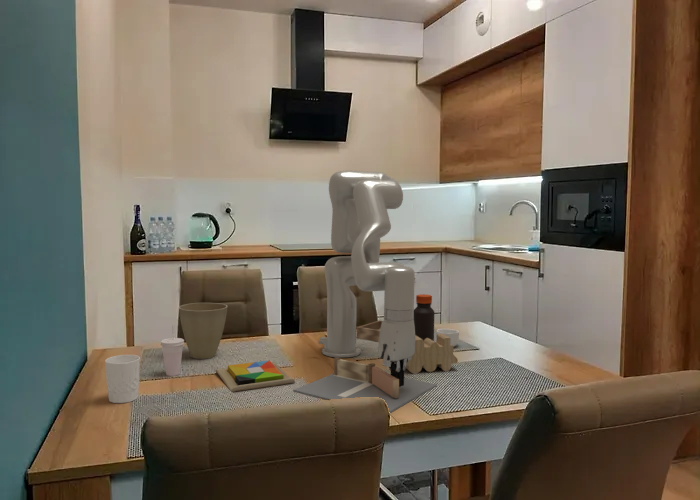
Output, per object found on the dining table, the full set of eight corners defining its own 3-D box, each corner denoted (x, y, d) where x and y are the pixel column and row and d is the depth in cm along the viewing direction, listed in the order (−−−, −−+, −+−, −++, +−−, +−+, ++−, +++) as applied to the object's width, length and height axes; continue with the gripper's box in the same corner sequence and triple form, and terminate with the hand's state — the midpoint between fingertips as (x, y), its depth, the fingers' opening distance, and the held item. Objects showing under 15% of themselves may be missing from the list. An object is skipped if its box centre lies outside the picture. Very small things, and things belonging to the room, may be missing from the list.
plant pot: (204, 365, 166) (203, 312, 165) (169, 357, 174) (168, 307, 172) (237, 353, 179) (237, 305, 178) (203, 347, 186) (203, 300, 185)
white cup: (112, 393, 140) (111, 354, 139) (144, 393, 141) (143, 354, 140) (101, 404, 132) (100, 363, 132) (135, 404, 133) (134, 363, 132)
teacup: (463, 347, 190) (463, 332, 189) (444, 350, 187) (444, 334, 186) (446, 341, 199) (447, 326, 199) (428, 343, 196) (428, 328, 195)
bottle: (427, 354, 181) (429, 293, 179) (437, 359, 175) (438, 296, 173) (408, 355, 179) (409, 294, 177) (417, 361, 172) (419, 297, 171)
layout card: (293, 391, 143) (293, 389, 143) (350, 367, 165) (350, 366, 165) (386, 415, 127) (386, 413, 127) (436, 385, 149) (436, 384, 149)
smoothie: (189, 372, 159) (188, 323, 158) (175, 378, 153) (174, 328, 152) (170, 369, 161) (169, 322, 160) (156, 376, 155) (155, 326, 154)
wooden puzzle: (232, 395, 142) (232, 381, 142) (214, 375, 158) (214, 362, 158) (296, 385, 150) (296, 372, 150) (272, 367, 167) (272, 355, 166)
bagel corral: (356, 338, 202) (356, 327, 202) (378, 330, 215) (379, 320, 215) (393, 344, 194) (393, 333, 193) (414, 336, 206) (414, 325, 206)
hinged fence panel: (371, 383, 148) (371, 366, 148) (376, 382, 149) (376, 366, 148) (394, 398, 137) (394, 380, 136) (399, 397, 137) (400, 380, 137)
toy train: (457, 370, 163) (458, 337, 162) (402, 374, 159) (403, 340, 158) (449, 365, 169) (450, 333, 168) (396, 369, 164) (397, 335, 164)
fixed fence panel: (376, 382, 150) (376, 364, 150) (372, 384, 149) (372, 365, 148) (336, 373, 158) (336, 356, 157) (332, 375, 156) (333, 357, 156)
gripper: (405, 308, 149) (403, 375, 151) (368, 316, 138) (366, 388, 140) (428, 313, 144) (426, 382, 146) (391, 321, 133) (389, 396, 135)
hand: (397, 385), depth 143 cm, fingers closed
